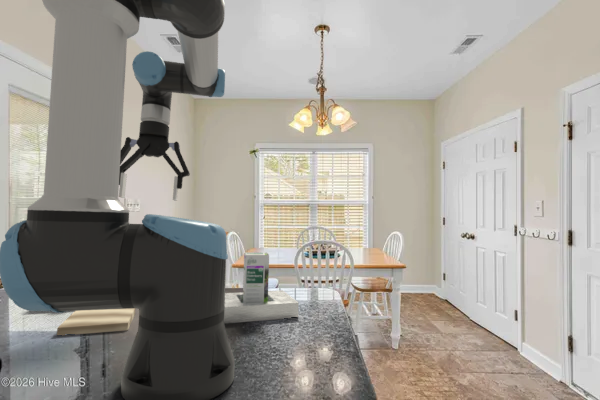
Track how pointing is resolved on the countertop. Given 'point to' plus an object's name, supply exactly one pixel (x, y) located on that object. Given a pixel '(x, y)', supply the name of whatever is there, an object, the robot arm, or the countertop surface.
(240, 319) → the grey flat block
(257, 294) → the syrup box
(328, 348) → the countertop surface
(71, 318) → the maple pad
